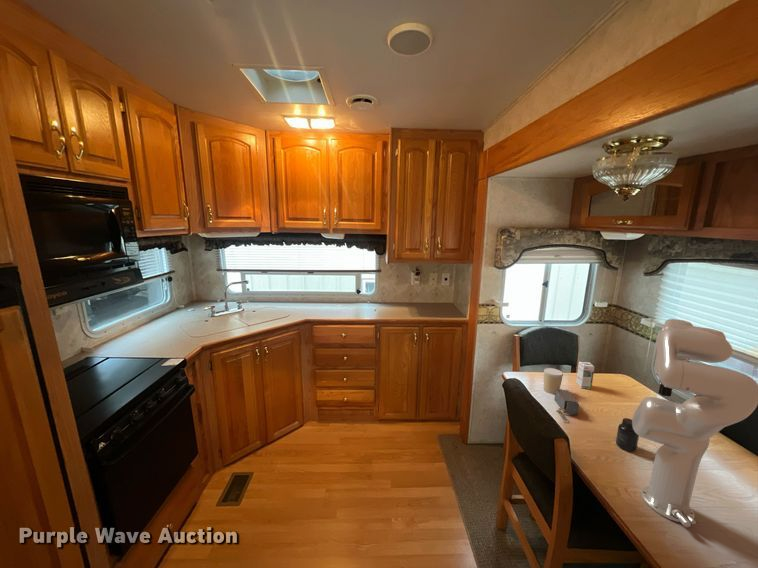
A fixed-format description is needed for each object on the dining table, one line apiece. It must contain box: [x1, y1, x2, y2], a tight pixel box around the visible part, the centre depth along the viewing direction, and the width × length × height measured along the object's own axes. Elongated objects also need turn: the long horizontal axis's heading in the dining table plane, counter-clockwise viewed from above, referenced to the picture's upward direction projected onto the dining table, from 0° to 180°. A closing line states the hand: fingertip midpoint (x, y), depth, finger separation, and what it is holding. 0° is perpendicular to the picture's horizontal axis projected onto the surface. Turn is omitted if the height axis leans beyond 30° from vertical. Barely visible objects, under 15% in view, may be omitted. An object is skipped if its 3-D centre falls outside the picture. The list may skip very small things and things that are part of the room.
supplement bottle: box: [615, 417, 640, 453], centre depth 121 cm, size 7×7×12 cm
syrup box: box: [575, 361, 595, 390], centre depth 169 cm, size 6×6×14 cm
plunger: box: [557, 402, 580, 416], centre depth 148 cm, size 11×8×6 cm
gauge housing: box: [554, 389, 579, 424], centre depth 146 cm, size 20×9×6 cm, turn 169°
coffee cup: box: [543, 367, 564, 395], centre depth 164 cm, size 9×9×12 cm
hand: (664, 394), depth 113 cm, fingers closed
